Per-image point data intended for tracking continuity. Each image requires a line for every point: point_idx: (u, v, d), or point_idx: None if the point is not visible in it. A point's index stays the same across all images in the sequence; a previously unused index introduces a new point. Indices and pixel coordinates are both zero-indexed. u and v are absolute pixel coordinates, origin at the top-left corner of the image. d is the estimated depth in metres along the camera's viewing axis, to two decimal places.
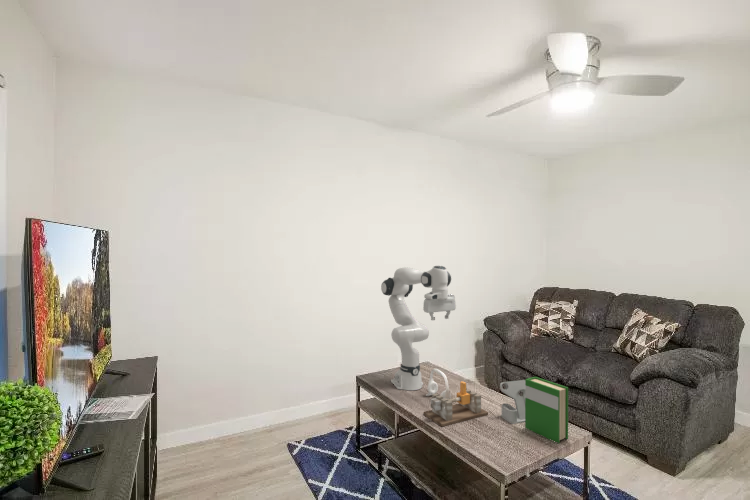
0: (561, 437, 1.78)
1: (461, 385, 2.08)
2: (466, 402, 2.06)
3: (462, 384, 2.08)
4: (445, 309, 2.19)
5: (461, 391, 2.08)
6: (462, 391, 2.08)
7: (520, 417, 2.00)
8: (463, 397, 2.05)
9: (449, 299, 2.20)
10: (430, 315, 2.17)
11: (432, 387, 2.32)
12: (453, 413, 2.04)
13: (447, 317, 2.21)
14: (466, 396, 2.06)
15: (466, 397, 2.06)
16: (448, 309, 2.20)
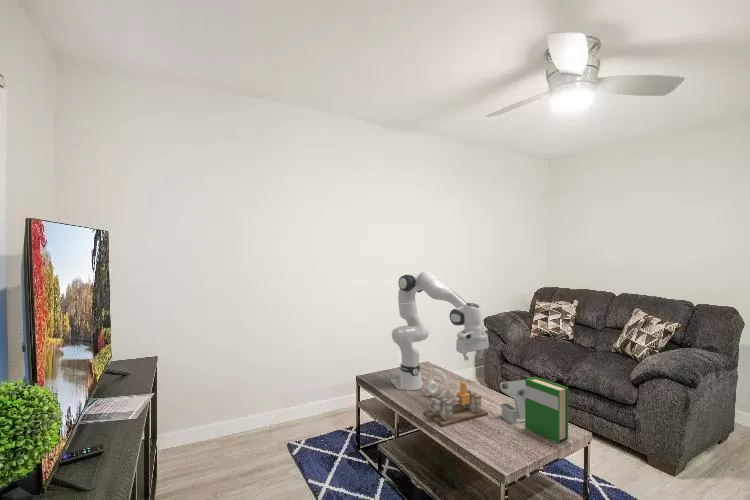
0: (561, 437, 1.78)
1: (461, 385, 2.08)
2: (466, 402, 2.06)
3: (462, 384, 2.08)
4: (478, 348, 2.11)
5: (461, 391, 2.08)
6: (462, 391, 2.08)
7: (520, 417, 2.00)
8: (463, 397, 2.05)
9: (482, 338, 2.12)
10: (463, 355, 2.09)
11: (432, 387, 2.32)
12: (453, 413, 2.04)
13: (480, 356, 2.13)
14: (466, 396, 2.06)
15: (466, 397, 2.06)
16: (481, 348, 2.12)
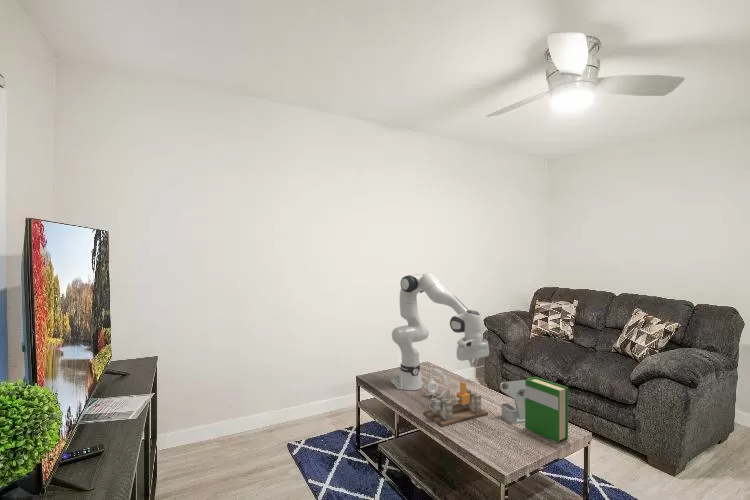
0: (561, 437, 1.78)
1: (461, 385, 2.08)
2: (466, 402, 2.06)
3: (462, 384, 2.08)
4: (479, 356, 2.11)
5: (461, 391, 2.08)
6: (462, 391, 2.08)
7: (520, 417, 2.00)
8: (463, 397, 2.05)
9: (483, 345, 2.12)
10: (469, 361, 2.11)
11: (432, 387, 2.32)
12: (453, 413, 2.04)
13: (475, 365, 2.11)
14: (466, 396, 2.06)
15: (466, 397, 2.06)
16: (482, 355, 2.12)
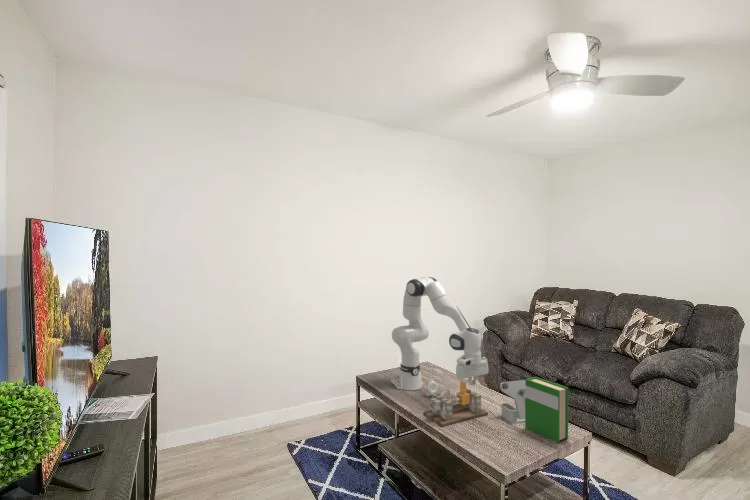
0: (561, 437, 1.78)
1: (461, 385, 2.08)
2: (466, 402, 2.06)
3: (462, 384, 2.08)
4: (478, 374, 2.11)
5: (461, 391, 2.08)
6: (462, 391, 2.08)
7: (520, 417, 2.00)
8: (463, 397, 2.05)
9: (482, 363, 2.12)
10: (469, 379, 2.11)
11: (432, 387, 2.32)
12: (453, 413, 2.04)
13: (474, 383, 2.11)
14: (466, 396, 2.06)
15: (466, 397, 2.06)
16: (481, 373, 2.12)
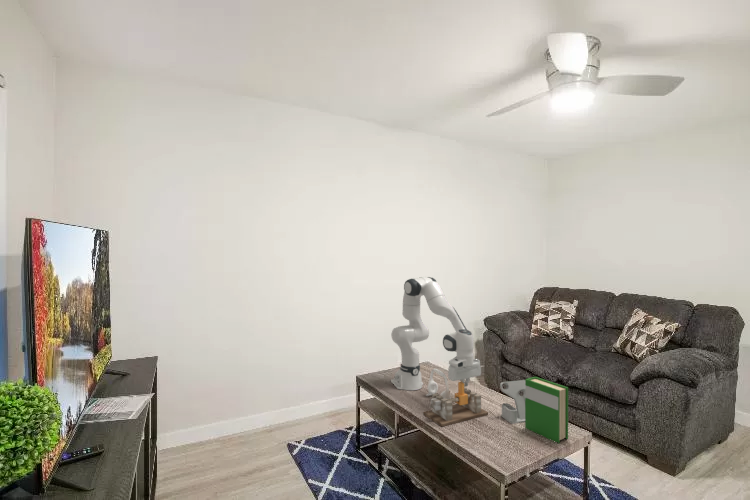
0: (561, 437, 1.78)
1: (459, 385, 2.08)
2: (464, 402, 2.06)
3: (460, 384, 2.07)
4: (470, 376, 2.08)
5: (459, 391, 2.08)
6: (460, 391, 2.07)
7: (520, 417, 2.00)
8: (461, 397, 2.05)
9: (474, 365, 2.10)
10: (461, 381, 2.08)
11: (432, 387, 2.32)
12: (453, 413, 2.04)
13: (466, 385, 2.08)
14: (464, 396, 2.06)
15: (464, 397, 2.06)
16: (473, 375, 2.09)
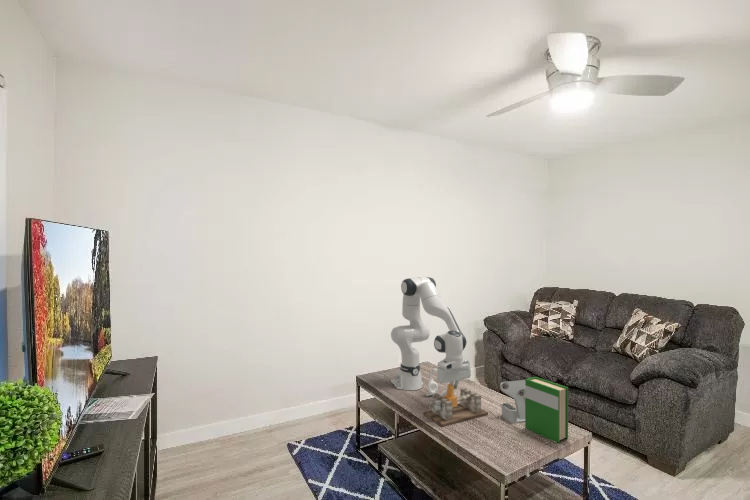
0: (561, 437, 1.78)
1: (448, 388, 2.04)
2: (453, 405, 2.02)
3: (449, 387, 2.04)
4: (460, 378, 2.05)
5: (448, 394, 2.04)
6: (449, 394, 2.04)
7: (520, 417, 2.00)
8: (450, 400, 2.01)
9: (464, 367, 2.06)
10: (450, 383, 2.05)
11: (432, 387, 2.32)
12: (453, 413, 2.04)
13: (456, 387, 2.05)
14: (453, 399, 2.02)
15: (453, 400, 2.02)
16: (463, 377, 2.06)
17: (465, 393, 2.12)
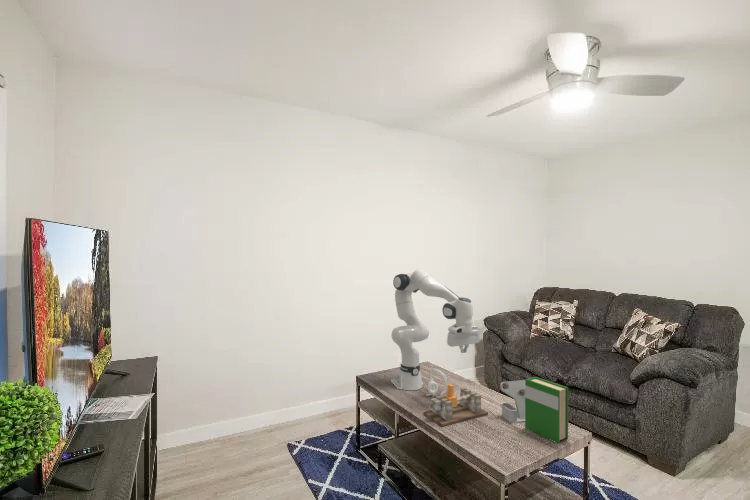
0: (561, 437, 1.78)
1: (448, 388, 2.04)
2: (453, 405, 2.02)
3: (449, 387, 2.04)
4: (469, 342, 2.14)
5: (448, 394, 2.04)
6: (449, 394, 2.04)
7: (520, 417, 2.00)
8: (450, 400, 2.01)
9: (473, 332, 2.15)
10: (460, 348, 2.15)
11: (432, 387, 2.32)
12: (453, 413, 2.04)
13: (465, 351, 2.15)
14: (453, 399, 2.02)
15: (453, 400, 2.02)
16: (472, 342, 2.15)
17: (465, 393, 2.12)
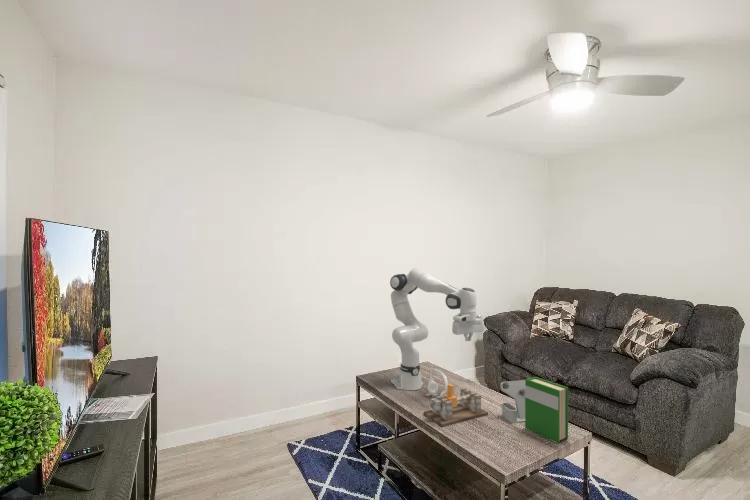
0: (561, 437, 1.78)
1: (448, 388, 2.04)
2: (453, 405, 2.02)
3: (449, 387, 2.04)
4: (473, 331, 2.22)
5: (448, 394, 2.04)
6: (449, 394, 2.04)
7: (520, 417, 2.00)
8: (450, 400, 2.01)
9: (477, 321, 2.23)
10: (464, 336, 2.22)
11: (432, 387, 2.32)
12: (453, 413, 2.04)
13: (470, 339, 2.22)
14: (453, 399, 2.02)
15: (453, 400, 2.02)
16: (476, 331, 2.23)
17: (465, 393, 2.12)
